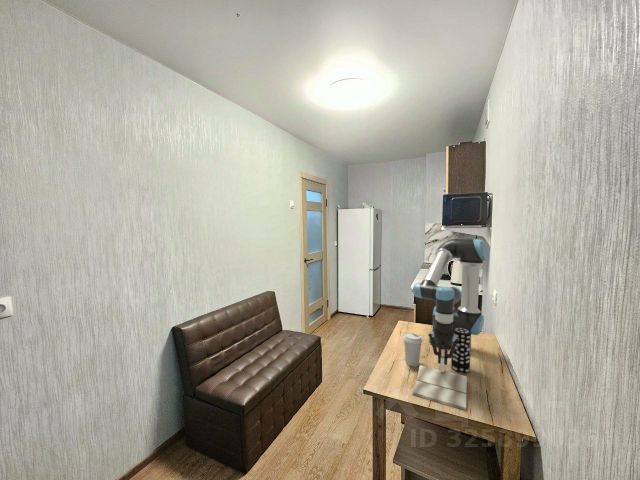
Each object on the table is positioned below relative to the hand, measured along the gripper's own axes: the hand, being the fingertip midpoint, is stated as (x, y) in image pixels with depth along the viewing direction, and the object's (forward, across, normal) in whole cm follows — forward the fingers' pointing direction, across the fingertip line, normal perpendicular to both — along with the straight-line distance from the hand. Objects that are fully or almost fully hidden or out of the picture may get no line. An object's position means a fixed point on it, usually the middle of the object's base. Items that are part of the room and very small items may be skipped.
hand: (442, 370), depth 126 cm
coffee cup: (+5, +15, -9) cm, 18 cm away
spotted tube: (+5, -7, -15) cm, 17 cm away
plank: (+3, 0, +4) cm, 4 cm away
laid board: (+4, 0, +14) cm, 14 cm away
